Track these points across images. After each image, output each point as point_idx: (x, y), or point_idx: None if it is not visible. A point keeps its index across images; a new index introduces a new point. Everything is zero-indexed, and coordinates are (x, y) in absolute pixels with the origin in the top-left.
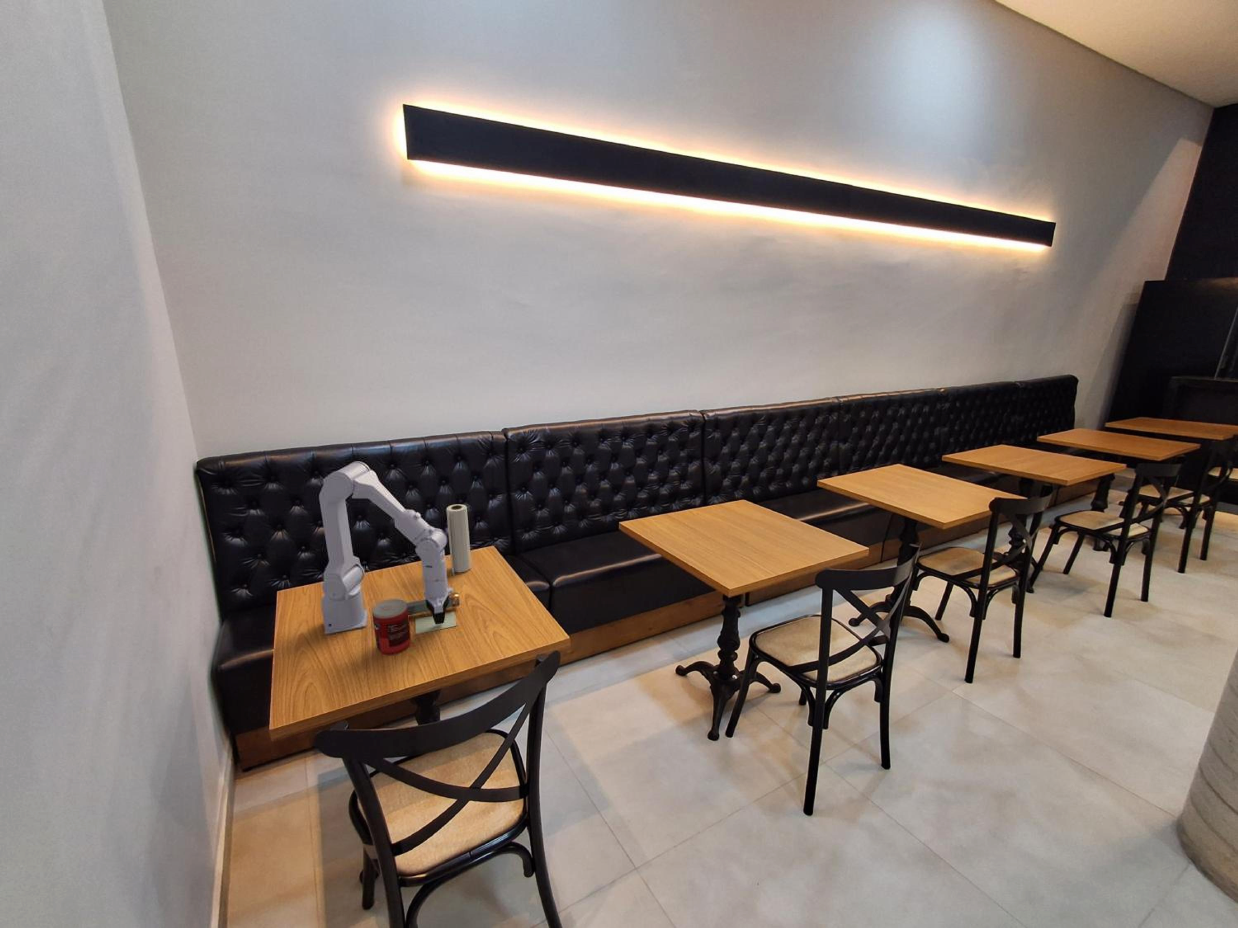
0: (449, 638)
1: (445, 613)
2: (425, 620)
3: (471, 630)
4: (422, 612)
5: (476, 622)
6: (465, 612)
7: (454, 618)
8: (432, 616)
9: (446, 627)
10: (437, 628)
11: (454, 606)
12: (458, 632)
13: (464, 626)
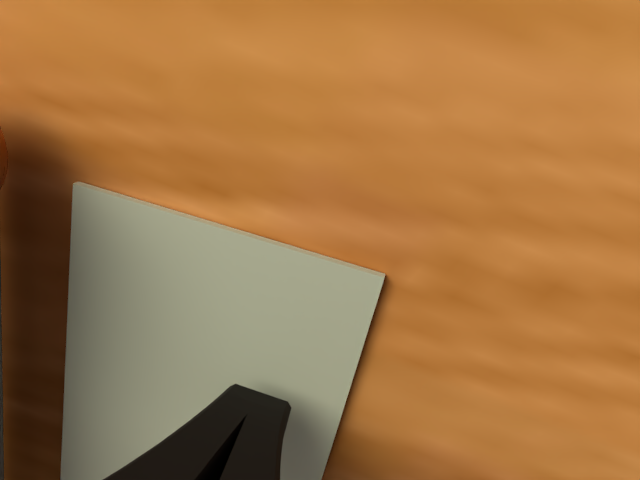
0: (580, 429)
1: (75, 276)
2: (116, 460)
3: (630, 152)
4: (3, 475)
5: (480, 5)
6: (142, 57)
7: (221, 235)
8: (76, 391)
9: (351, 375)
10: (313, 445)
11: (2, 171)
12: (538, 307)
13: (459, 195)
